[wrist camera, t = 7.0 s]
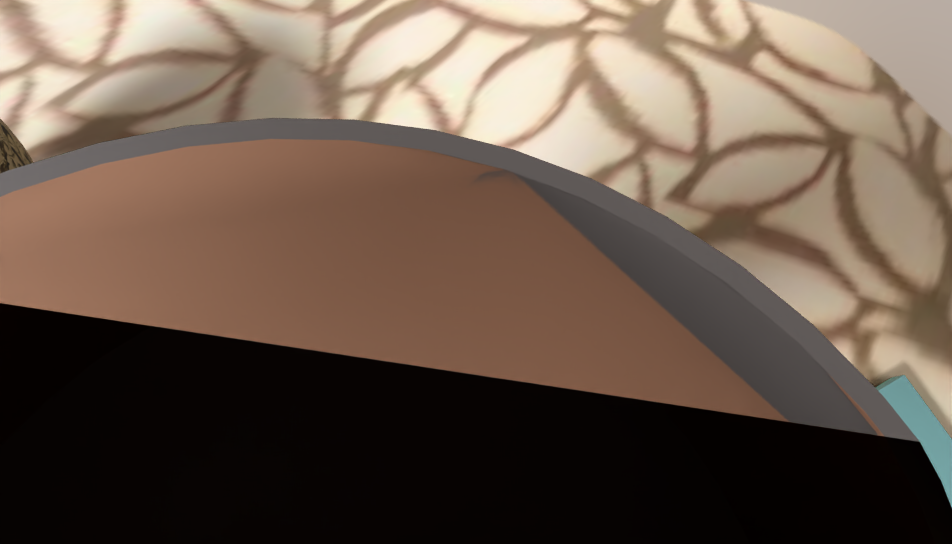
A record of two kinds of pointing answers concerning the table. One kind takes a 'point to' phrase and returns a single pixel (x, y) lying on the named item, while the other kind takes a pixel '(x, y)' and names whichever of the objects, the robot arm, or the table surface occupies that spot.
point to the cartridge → (411, 358)
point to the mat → (921, 426)
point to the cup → (11, 150)
